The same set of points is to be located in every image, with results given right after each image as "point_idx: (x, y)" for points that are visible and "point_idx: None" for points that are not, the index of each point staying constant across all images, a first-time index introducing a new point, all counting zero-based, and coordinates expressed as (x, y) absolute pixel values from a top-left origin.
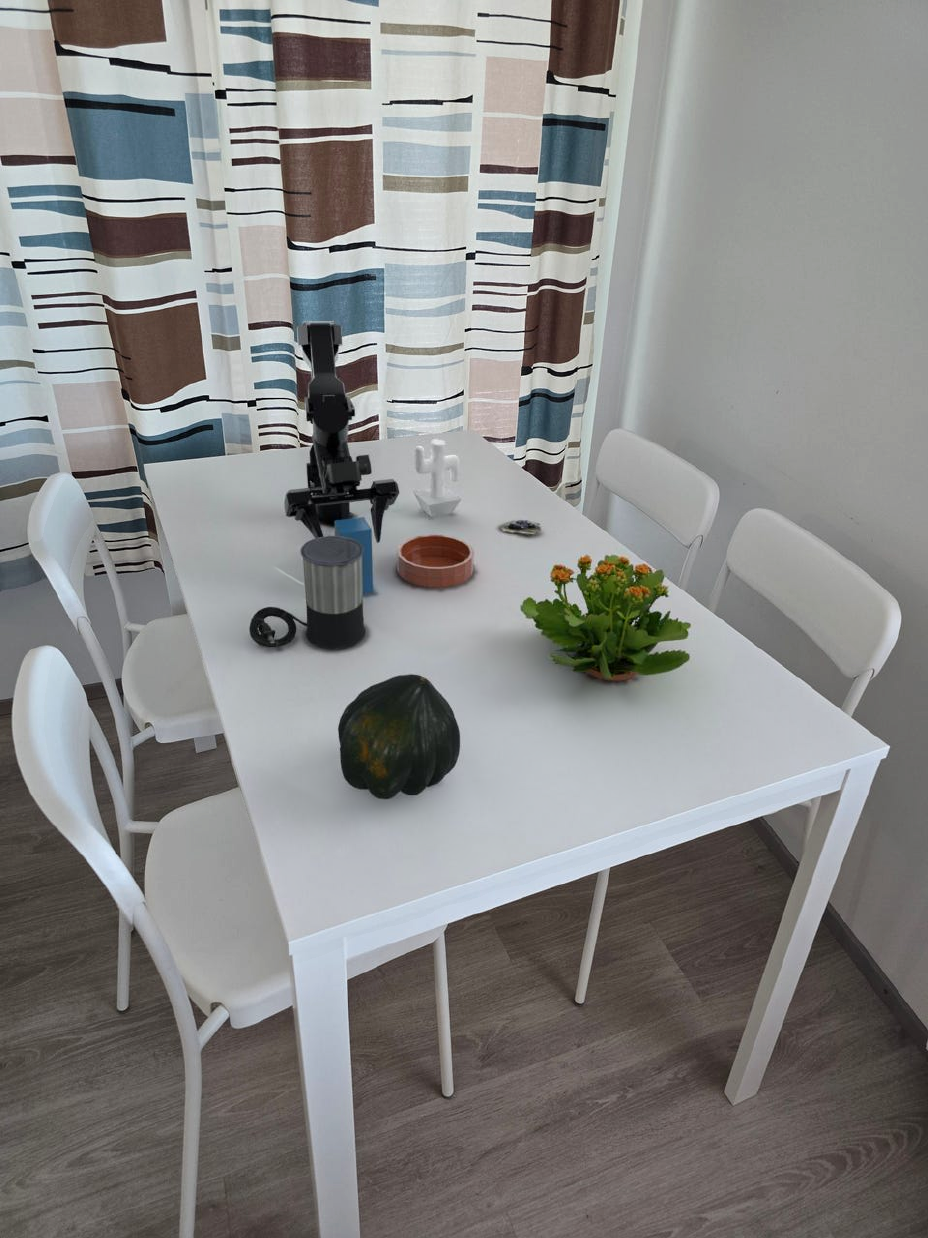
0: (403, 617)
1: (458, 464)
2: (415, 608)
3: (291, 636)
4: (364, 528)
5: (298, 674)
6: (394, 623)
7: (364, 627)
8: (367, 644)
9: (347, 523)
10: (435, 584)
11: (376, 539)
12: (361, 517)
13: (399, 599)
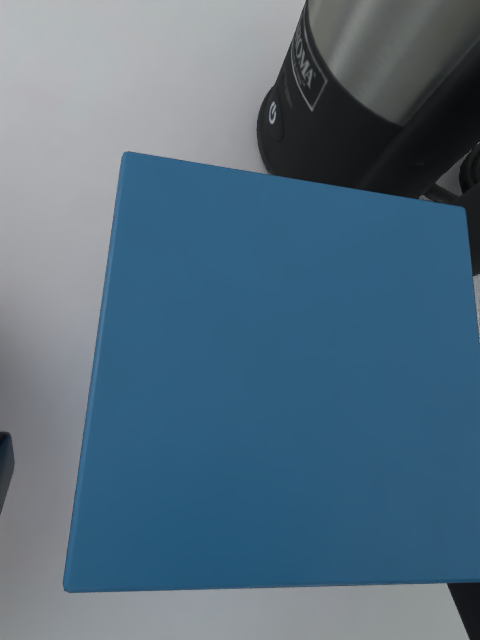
0: (103, 142)
1: None
2: (30, 174)
3: (475, 151)
4: (200, 204)
5: None
6: (149, 124)
7: (259, 122)
8: (269, 67)
9: (362, 422)
10: None
11: (4, 475)
12: (109, 582)
13: (58, 259)
